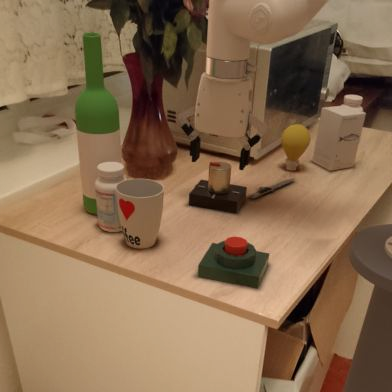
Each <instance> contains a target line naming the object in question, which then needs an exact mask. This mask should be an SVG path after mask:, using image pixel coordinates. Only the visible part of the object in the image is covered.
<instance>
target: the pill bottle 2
mask: <svg viewBox="0 0 392 392" xmlns="http://www.w3.org/2000/svg"><path fill="white" fill-rule="evenodd" d="M363 99H364V98H363V96H361V95H358V94H345V95H344V96H343V104H341V105H340V106H343V105H347V106H349V107H352V108H355V109H357V110H360V111H362V112H364V109H363V106H361V105H362V104H363Z"/></svg>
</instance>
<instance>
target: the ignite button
mask: <svg viewBox="0 0 392 392" xmlns="http://www.w3.org/2000/svg"><path fill="white" fill-rule="evenodd" d="M224 241H225V252H226V253H227V254H230V255H235V256H239V255H244V254H246V252H247V244H248V243H249V242H248V240H247V239H245V238H244V237H241V236H230V237H226V239H224Z"/></svg>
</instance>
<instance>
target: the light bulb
mask: <svg viewBox="0 0 392 392" xmlns="http://www.w3.org/2000/svg"><path fill="white" fill-rule="evenodd" d="M280 143H281V146H282V147H281V148H282V149H283V152H284V154H285V156H286V158H285V161H284V164H285V166H286V167H285V170H287V171H292V172H293V171H297V167H298V166H300V158H301V157H302V156H303V154H305V152H306V150H307V149H308V147H309V146H310V144H311V134H310V131H309V130H308V128H307V127H306V126H304V125H302V124H299V123H295V124H291V125H289V126H287V127H286V128H285V129H284V130H283V132H282V133H281V137H280Z"/></svg>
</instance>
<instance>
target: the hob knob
mask: <svg viewBox="0 0 392 392" xmlns="http://www.w3.org/2000/svg"><path fill="white" fill-rule="evenodd" d="M231 176H232V164H230V163H228V162H226V161H210V162H209V163H208V178H207V179H208V180H207V181H208V191H210V192H211V193H215V194H225V193H228V192H229V190H230V184H231Z"/></svg>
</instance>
